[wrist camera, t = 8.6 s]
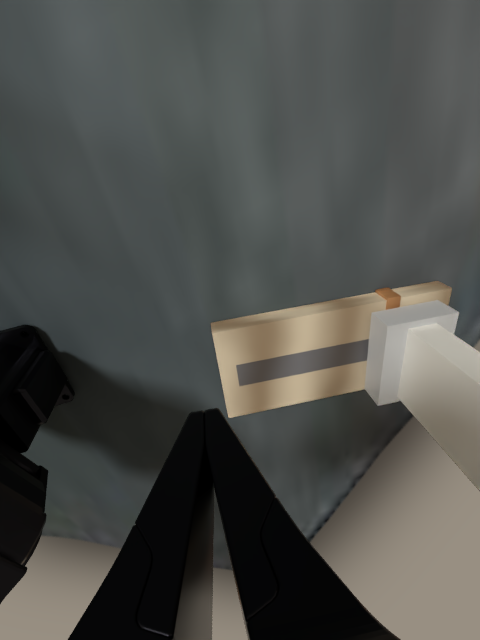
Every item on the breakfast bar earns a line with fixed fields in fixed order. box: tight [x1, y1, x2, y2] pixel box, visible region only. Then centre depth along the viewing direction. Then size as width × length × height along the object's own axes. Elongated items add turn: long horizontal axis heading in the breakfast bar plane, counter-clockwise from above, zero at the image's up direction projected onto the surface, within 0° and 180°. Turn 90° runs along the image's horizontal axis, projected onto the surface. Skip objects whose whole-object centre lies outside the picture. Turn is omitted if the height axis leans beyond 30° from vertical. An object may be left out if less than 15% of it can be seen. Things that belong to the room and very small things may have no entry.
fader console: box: [211, 281, 452, 418], centre depth 25 cm, size 18×8×2 cm, turn 98°
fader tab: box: [364, 300, 480, 491], centre depth 18 cm, size 5×7×13 cm
